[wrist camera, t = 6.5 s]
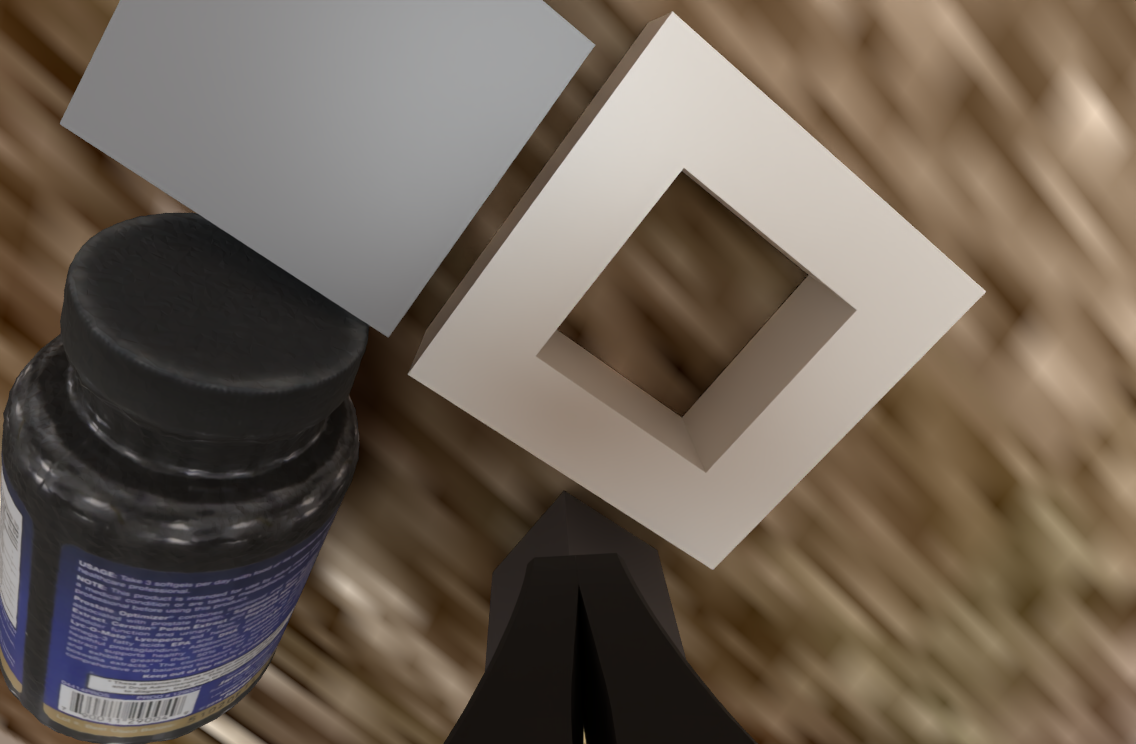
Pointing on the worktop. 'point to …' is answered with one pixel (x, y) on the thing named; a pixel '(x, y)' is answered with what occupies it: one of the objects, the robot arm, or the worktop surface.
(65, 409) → the pill bottle
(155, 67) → the grey square block
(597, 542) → the plug
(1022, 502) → the worktop surface
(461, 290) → the socket
